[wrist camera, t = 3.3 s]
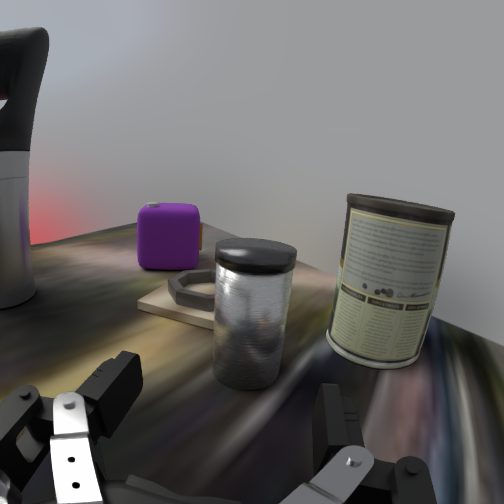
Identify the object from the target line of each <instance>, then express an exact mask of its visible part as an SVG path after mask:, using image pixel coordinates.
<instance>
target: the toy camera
mask: <svg viewBox="0 0 504 504" xmlns="http://www.w3.org/2000/svg"><path fill="white" fill-rule="evenodd" d="M202 229H203V224H200V216H199V211H198V209H197V207H196V206H195V205H192V204H181V203H155V202H152V203H147V205H146V206H145V207H143V208H142V209H141V210H140V212H139V214H138V220H137V254H138V262H139V265H140V266H141V267H142V268H146V269H163V270H191V269H194V268H195V267H196V265H197V263H198V255H199V250H202Z"/></svg>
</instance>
